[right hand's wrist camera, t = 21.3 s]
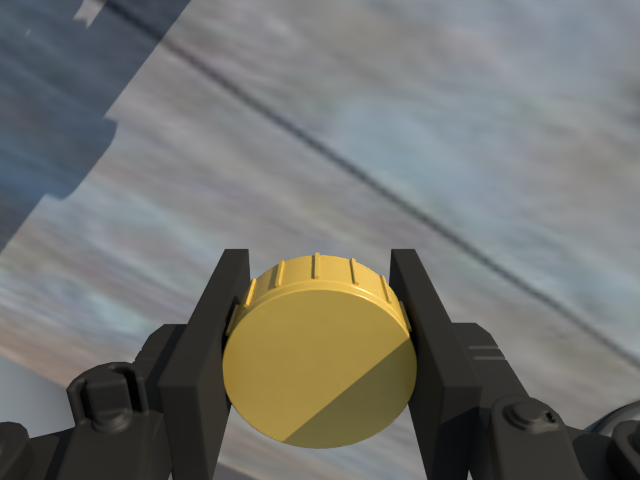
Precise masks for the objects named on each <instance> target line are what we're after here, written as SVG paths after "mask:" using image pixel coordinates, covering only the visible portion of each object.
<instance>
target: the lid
mask: <svg viewBox="0 0 640 480" xmlns="http://www.w3.org/2000/svg"><path fill="white" fill-rule="evenodd" d="M411 331H412V328H411V325H410V322H409V320H408V317H407V314H406V311H405V308H404V305H403V302H402V301H398V299H397V297H396V295H395V294H394V292H393V290H392V289H391V288H390V287H389V285H388V284H387V283H386V280H385V277H384V276H383V275H382V276H378V275H377V274H376V273H375V272H373V271H372V270H370V269H369V268H367V267H365V266H363V265H361V264H359V263H357V262H356V261H355V259H353V258H351V260H348V259H345V258H340V257H336V256H327V255H319V253H315V255H311V256H304V257H298V258H295V259H291V260H288V261H285V262H284V260H281V261H279V264H278V265H276V266H274V267H272V268H271V269H269V270H267V271H266V272H265V273H263V274H262V275H261V276H259V277H258V278H257V279H254V278H253V279H252V280H251V283H250V286H249V288H248V289H247V291H246V292H245V294H244V296H243V297H242V299H241V301H240V304H239V305H235V308H234V311H233V314H232V317H231V320H230V323H229V325H228V328H227V331H226V334H225V335H226V336H228V339H227V342H226V345H225V348H224V351H223V357H222V367H223V377H224V386H225V391H226V393H227V396H228V398H229V400H230V402H231V403H232V405H233V406H234V408H235V410H236V411H237V412H238V413H239V414H240V416H241V417H242V418H243V419H244V420H245V421H246V422H247V423H249V424H250V425H251V426H252V427H253V428H255V429H256V430H258V431H259V432H261V433H262V434H264V435H266V436H268V437H270V438H272V439H275V440H277V441H279V442H282V443H286V444H289V445H293V446H298V447H304V448H315V449H320V448H335V447H342V446H346V445H351V444H354V443H357V442H360V441H363V440H365V439H367V438H369V437H371V436H373V435H375V434H377V433H378V432H380V431H382V430H383V429H384V428H386V427H387V426H388V425H390V424H391V423H392V422H393V421H394V420H395V419H396V418H397V417H398V416H399V415H400V413H401V412H402V411H403V410H404V408H405V407H406V405H407V403H408V402H409V400H410V398H411V396H412V393H413V391H414V388H415V384H416V374H417V356H416V352H415V348H414V344H413V341H412V339H411V335H410V332H411Z"/></svg>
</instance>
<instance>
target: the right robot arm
mask: <svg viewBox="0 0 640 480" xmlns="http://www.w3.org/2000/svg"><path fill="white" fill-rule="evenodd" d="M250 283H251V282H250V267H249V252H248V249H225V250H224V252H223V254H222V256H221V258H220V260H219V262H218V264H217V266H216V268H215V270H214V272H213V274H212V276H211V278H210V280H209V282H208V284H207V286H206V288H205V290H204V292H203V294H202V296H201V298H200V300H199V302H198V304H197V306H196V308H195V310H194V312H193V314H192V316H191V318H190V320H189V322H188V324H164V325H163V326H161V327H160V328H159V329H157V330H156V331H155V332H153V333H152V334H151V335H150V336H149V337H148V339H147V340H146V342H145V344H144V345H143V347H142V351H140V352H139V353H138V355H137V357H136V358H135V362H133V363H132V364H131V363H128V362H110V363H106V364H102V365H98V366H96V367H94V368H91V369H89V370H87V371H85V372H83V373H82V374H80V375H79V376H78V377H76V378H75V379H74V380H73V381H72V382H71V384H70V385H69V386H68V388H67V389H66V391H67V395H68V399H69V402H70V406H71V410H72V414H73V418H74V421H75V427H73V428H70V429H67V430H64V431H60V432H56V433H52V434H47V435H43V436H39V437H35V438H29V435H28V432H27V429H26V428H24V427H23V426H22V425H21V424H20V423H14V422H1V423H0V480H168V478H169V475H170V472H171V473H172V479H173V480H212V479H213V475H214V471H215V467H216V463H217V459H218V455H219V451H220V448H221V444H222V440H223V436H224V432H225V428H226V424H227V420H228V416H229V412H230V409H231V405H232V403H231V402H230V400H229V398H228V396H227V393H226V391H225V386H224V377H223V367H222V357H223V351H224V348H225V345H226V342H227V339H228V336H226V335H225V334H226V331H227V328H228V325H229V323H230V320H231V317H232V314H233V311H234V308H235V305H239V304H240V301H241V299H242V297H243V296H244V294H245V292H246V291H247V289H248V288H249V286H250ZM389 287H390V288H391V289H392V290H393V292H394V294H395V295H396V297H397V299H398V301H402V302H403V305H404V308H405V311H406V314H407V317H408V320H409V322H410V325H411V328H412V331H411V332H410V335H411V339H412V341H413V344H414V348H415V352H416V356H417V374H416V384H415V388H414V391H413V393H412V396H411V398H410V400H409V402H408V406H409V410H410V413H411V417H412V421H413V425H414V429H415V433H416V437H417V441H418V445H419V449H420V452H421V456H422V460H423V464H424V468H425V472H426V476H427V480H467V477H468V471H470V474H471V476H472V479H473V480H640V401H637V402H635V403H632V404H630V405H628V406H626V407H624V408H622V409H620V410H618V411H617V412H615V413H614V414H612V415H611V416H609V417H608V418H607V419H605V420H604V421H603V422H602V423H601V424H600V425H598V426H597V427H596V429H595V430H594V431H593V432H587V431H583V430H579V429H576V428H572V427H569V426H566V425H565V424H564V422H563V421H562V419H561V418H560V416H559V414H558V413H556V412H555V411H554V410H553V409H552V408H551V407H549V406H548V405H546V404H545V403H543V402H541V401H539V400H537V399H535V398H531V397H529V395H528V394H527V392H526V390H525V389H524V387H523V386H522V384H521V382H520V381H519V379H518V378H517V376H516V374H515V373H514V371H513V370H512V368H511V366H510V365H509V363H508V362H507V360H505V357H504V355H503V354H502V352H501V350H500V349H498V346H497V344H496V342H495V341H494V339H493V338H492V336H491V334H490V333H488V332H487V331H486V330H484V329H483V328H482V327H480V326H479V325H478V324H476V323H452V322H451V320H450V318H449V316H448V314H447V312H446V310H445V308H444V306H443V304H442V302H441V300H440V299H439V297H438V295H437V293H436V291H435V289H434V287H433V285H432V283H431V281H430V279H429V277H428V275H427V273H426V271H425V269H424V267H423V265H422V263H421V261H420V259H419V257H418V255H417V253H416V251H415V249H391V263H390V278H389Z"/></svg>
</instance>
